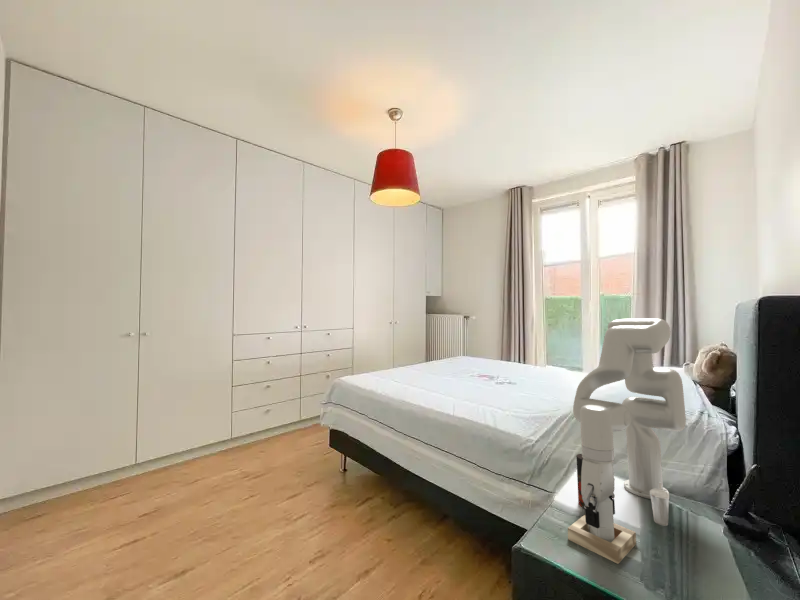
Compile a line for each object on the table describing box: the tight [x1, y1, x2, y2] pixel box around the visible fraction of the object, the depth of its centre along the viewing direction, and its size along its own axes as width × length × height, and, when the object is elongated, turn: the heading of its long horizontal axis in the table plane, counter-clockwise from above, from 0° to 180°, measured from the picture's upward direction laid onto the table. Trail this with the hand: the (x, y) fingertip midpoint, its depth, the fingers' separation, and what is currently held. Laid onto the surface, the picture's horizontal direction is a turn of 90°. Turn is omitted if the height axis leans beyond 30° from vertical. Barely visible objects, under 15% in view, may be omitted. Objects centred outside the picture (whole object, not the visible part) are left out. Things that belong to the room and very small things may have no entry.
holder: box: [567, 514, 637, 565], centre depth 90 cm, size 12×12×3 cm
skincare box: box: [589, 495, 615, 542], centre depth 90 cm, size 6×4×12 cm
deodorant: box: [575, 453, 585, 510], centre depth 108 cm, size 6×6×15 cm
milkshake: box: [650, 483, 670, 527], centre depth 99 cm, size 4×5×10 cm
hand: (600, 518), depth 90 cm, fingers open, 9 cm apart
